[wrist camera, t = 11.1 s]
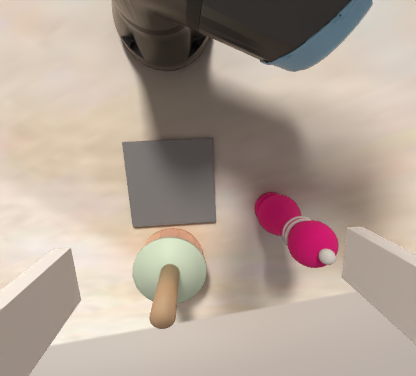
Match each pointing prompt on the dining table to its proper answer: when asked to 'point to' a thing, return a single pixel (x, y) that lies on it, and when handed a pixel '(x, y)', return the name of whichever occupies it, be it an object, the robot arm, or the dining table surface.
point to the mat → (170, 181)
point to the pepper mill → (297, 230)
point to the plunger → (168, 276)
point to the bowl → (175, 233)
